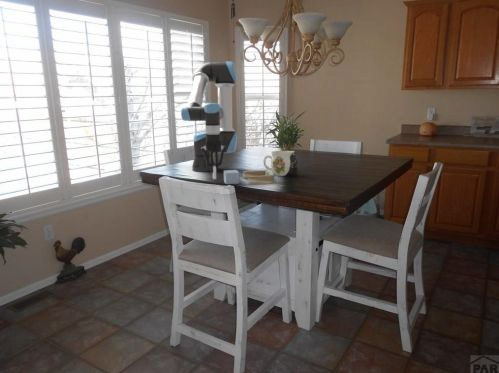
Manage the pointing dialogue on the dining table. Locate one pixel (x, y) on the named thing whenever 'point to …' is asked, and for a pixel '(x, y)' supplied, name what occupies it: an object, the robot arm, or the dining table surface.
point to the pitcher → (279, 162)
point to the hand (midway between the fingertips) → (214, 178)
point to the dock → (258, 177)
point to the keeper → (231, 177)
